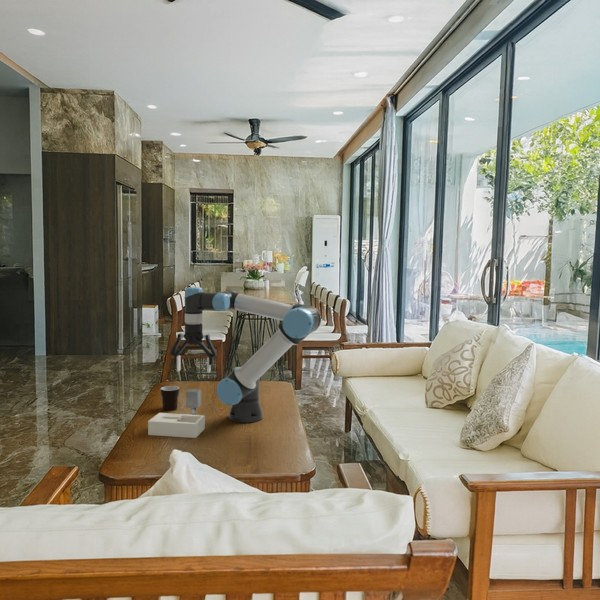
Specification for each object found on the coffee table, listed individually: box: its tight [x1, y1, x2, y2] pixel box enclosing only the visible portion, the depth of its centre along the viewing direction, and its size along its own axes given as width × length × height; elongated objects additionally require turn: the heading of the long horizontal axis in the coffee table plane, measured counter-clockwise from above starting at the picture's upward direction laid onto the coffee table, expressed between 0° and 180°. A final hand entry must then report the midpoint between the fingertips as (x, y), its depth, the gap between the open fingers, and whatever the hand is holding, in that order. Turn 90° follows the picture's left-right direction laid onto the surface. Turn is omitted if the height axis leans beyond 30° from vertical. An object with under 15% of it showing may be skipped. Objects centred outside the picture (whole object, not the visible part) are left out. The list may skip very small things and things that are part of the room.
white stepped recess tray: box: [147, 412, 206, 439], centre depth 230 cm, size 20×12×6 cm, turn 82°
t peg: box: [185, 388, 202, 415], centre depth 243 cm, size 7×7×14 cm
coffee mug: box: [160, 385, 180, 412], centre depth 264 cm, size 12×9×10 cm
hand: (193, 371), depth 242 cm, fingers open, 13 cm apart
